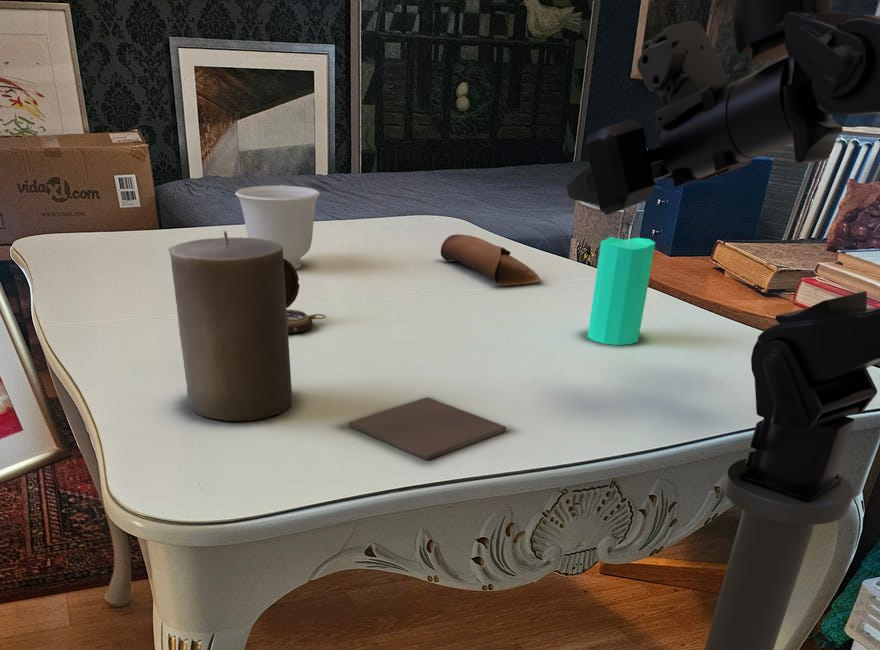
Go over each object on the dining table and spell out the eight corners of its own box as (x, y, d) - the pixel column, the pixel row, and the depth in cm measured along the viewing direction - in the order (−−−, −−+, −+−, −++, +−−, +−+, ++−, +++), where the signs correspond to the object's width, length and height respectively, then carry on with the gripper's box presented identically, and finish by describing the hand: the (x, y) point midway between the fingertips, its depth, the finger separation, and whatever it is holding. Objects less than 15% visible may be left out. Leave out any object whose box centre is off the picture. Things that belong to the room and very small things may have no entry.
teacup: (324, 254, 136) (322, 183, 131) (320, 276, 124) (317, 198, 119) (248, 253, 136) (242, 182, 130) (236, 275, 124) (229, 197, 118)
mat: (506, 430, 77) (506, 426, 77) (427, 460, 72) (427, 456, 71) (427, 401, 83) (427, 397, 83) (348, 426, 77) (348, 422, 77)
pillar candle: (297, 419, 79) (289, 240, 70) (188, 425, 77) (165, 243, 68) (286, 383, 86) (277, 219, 78) (186, 388, 85) (166, 221, 76)
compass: (270, 337, 99) (266, 270, 95) (250, 319, 105) (245, 255, 101) (335, 330, 102) (333, 264, 98) (311, 313, 108) (309, 250, 104)
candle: (646, 335, 103) (666, 225, 96) (628, 348, 99) (647, 233, 92) (598, 327, 105) (614, 219, 98) (579, 338, 101) (594, 227, 94)
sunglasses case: (546, 279, 123) (530, 236, 119) (507, 309, 123) (489, 267, 119) (487, 254, 137) (470, 215, 132) (451, 281, 137) (433, 243, 132)
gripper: (798, -13, 70) (647, 69, 82) (649, 19, 61) (507, 105, 74) (820, 137, 73) (671, 193, 86) (682, 186, 65) (541, 240, 78)
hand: (602, 180), depth 81 cm, fingers open, 9 cm apart
